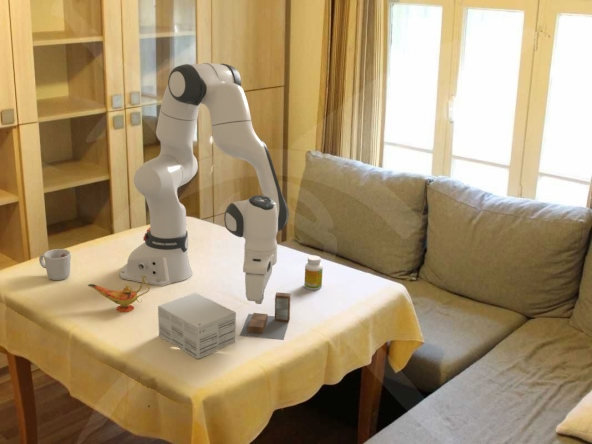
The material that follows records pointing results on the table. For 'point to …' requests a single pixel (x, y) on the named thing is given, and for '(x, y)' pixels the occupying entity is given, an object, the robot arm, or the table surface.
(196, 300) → the supplement box
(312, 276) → the supplement bottle
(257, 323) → the left walnut tile
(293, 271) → the table surface
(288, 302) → the right walnut tile
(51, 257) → the cup
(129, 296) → the magic lamp
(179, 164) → the robot arm
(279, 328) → the slate rubber mat
